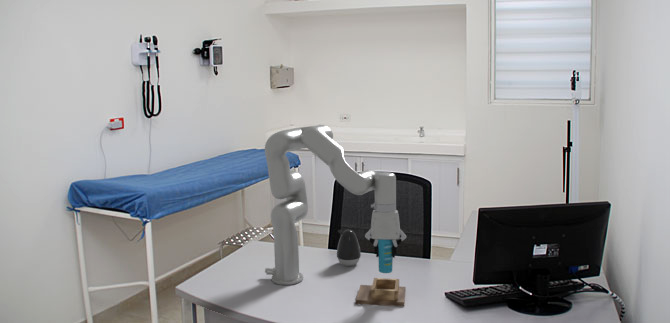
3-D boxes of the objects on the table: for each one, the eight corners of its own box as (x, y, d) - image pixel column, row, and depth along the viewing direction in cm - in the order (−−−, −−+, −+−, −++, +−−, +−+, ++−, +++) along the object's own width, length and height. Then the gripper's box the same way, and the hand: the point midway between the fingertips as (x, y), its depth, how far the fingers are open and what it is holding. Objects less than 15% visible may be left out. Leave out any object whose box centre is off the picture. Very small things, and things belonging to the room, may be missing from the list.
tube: (381, 275, 197) (381, 223, 194) (373, 271, 201) (373, 220, 198) (397, 270, 201) (398, 219, 198) (389, 267, 205) (389, 216, 202)
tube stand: (356, 303, 198) (356, 290, 197) (360, 288, 211) (360, 276, 210) (404, 306, 195) (404, 292, 194) (405, 290, 208) (405, 277, 208)
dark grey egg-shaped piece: (345, 258, 245) (344, 225, 242) (365, 262, 239) (364, 228, 236) (331, 265, 237) (331, 230, 234) (352, 270, 231) (351, 234, 228)
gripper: (360, 209, 195) (361, 258, 198) (409, 210, 192) (409, 260, 195) (362, 204, 202) (363, 252, 205) (409, 205, 199) (409, 253, 202)
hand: (385, 255), depth 200 cm, fingers closed on tube, 5 cm apart
